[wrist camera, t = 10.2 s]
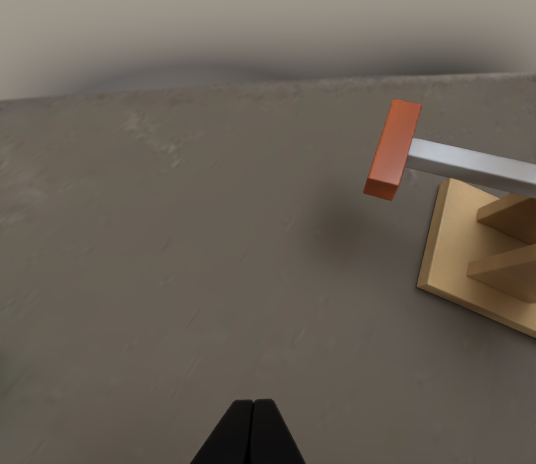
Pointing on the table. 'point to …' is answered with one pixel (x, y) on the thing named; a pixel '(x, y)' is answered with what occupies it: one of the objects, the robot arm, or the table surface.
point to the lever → (438, 160)
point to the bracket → (483, 254)
